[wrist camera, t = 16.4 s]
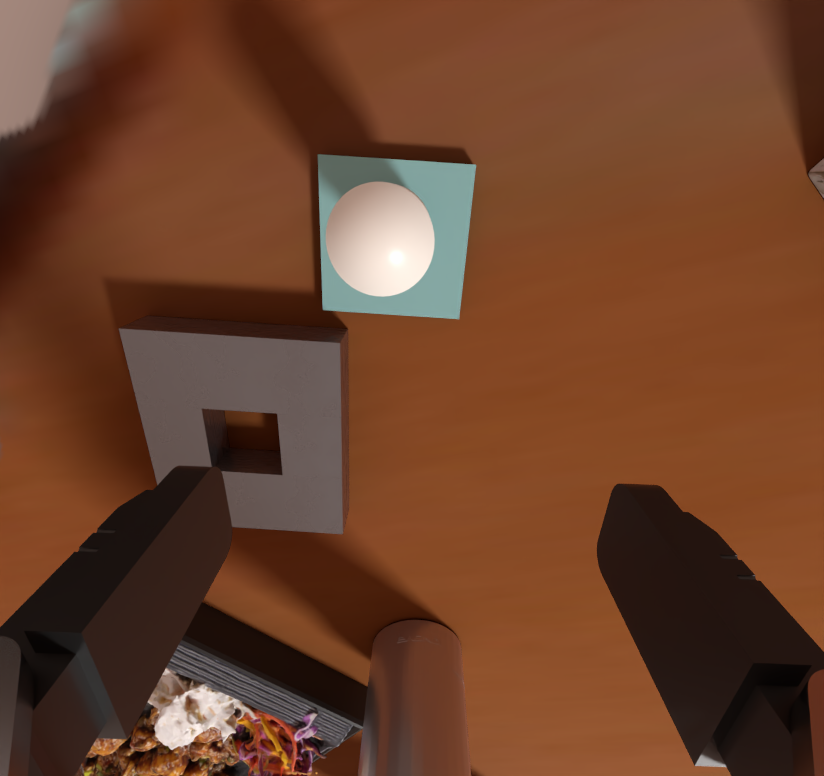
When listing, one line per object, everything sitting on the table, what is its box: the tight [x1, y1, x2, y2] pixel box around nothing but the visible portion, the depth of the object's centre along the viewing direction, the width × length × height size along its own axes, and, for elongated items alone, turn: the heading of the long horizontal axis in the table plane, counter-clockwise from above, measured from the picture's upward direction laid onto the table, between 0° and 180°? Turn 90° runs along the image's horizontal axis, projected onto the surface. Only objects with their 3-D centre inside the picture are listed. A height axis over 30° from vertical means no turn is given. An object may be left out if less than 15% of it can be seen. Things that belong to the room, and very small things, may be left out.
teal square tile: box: [318, 154, 476, 319], centre depth 26 cm, size 9×9×1 cm
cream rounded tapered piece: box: [326, 182, 435, 297], centre depth 21 cm, size 4×4×10 cm
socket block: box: [119, 316, 349, 534], centre depth 31 cm, size 16×14×3 cm
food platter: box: [82, 602, 368, 776], centre depth 47 cm, size 45×25×10 cm, turn 140°
